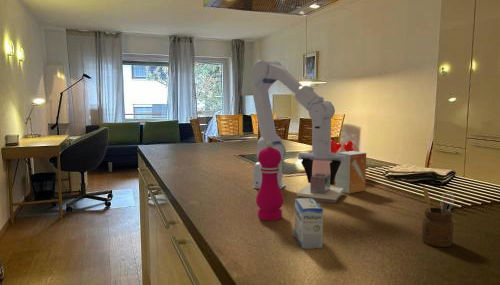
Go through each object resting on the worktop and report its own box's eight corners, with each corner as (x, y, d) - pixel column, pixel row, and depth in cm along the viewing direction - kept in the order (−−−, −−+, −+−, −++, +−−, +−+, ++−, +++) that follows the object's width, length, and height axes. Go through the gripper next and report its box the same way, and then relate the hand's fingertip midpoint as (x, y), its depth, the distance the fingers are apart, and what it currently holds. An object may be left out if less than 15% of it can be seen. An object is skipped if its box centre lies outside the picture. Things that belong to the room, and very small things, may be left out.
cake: (339, 185, 130) (340, 146, 128) (299, 176, 146) (299, 141, 144) (370, 177, 142) (371, 141, 141) (330, 170, 158) (330, 137, 156)
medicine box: (294, 235, 82) (294, 198, 81) (313, 234, 82) (313, 197, 81) (301, 249, 74) (302, 208, 73) (323, 248, 74) (323, 207, 73)
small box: (349, 194, 117) (350, 154, 115) (334, 190, 122) (335, 152, 121) (365, 190, 121) (366, 152, 120) (351, 187, 127) (351, 150, 125)
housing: (310, 192, 111) (310, 175, 110) (316, 187, 117) (316, 171, 117) (324, 194, 109) (325, 176, 109) (330, 189, 115) (330, 172, 115)
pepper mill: (286, 214, 97) (286, 140, 95) (279, 222, 90) (279, 143, 88) (260, 211, 99) (260, 139, 97) (252, 219, 93) (251, 142, 90)
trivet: (296, 199, 111) (296, 193, 111) (307, 190, 122) (308, 184, 122) (335, 203, 106) (335, 197, 106) (343, 194, 117) (343, 188, 117)
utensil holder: (459, 247, 74) (462, 190, 73) (429, 248, 74) (432, 191, 72) (441, 236, 80) (444, 183, 79) (414, 237, 80) (417, 184, 78)
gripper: (295, 140, 112) (294, 183, 113) (342, 142, 105) (341, 188, 107) (302, 138, 118) (301, 179, 119) (347, 140, 112) (346, 183, 113)
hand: (320, 183), depth 114 cm, fingers open, 6 cm apart
